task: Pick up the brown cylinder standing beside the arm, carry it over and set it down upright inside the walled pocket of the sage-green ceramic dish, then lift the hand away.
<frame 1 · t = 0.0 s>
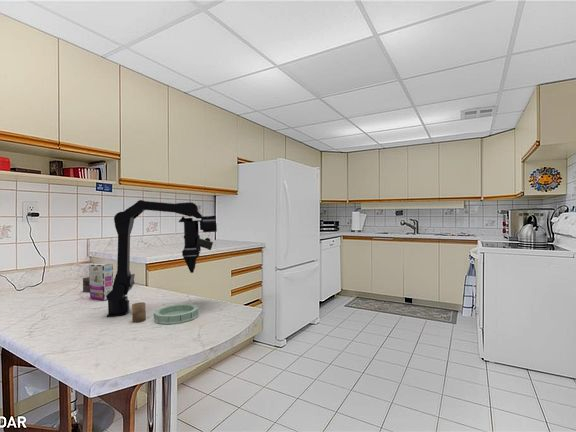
hand: (192, 270, 131), 15 cm above the worktop, fingers open, 9 cm apart
dish: (176, 317, 117), on the worktop
candy bar box: (101, 299, 150), on the worktop
box: (92, 291, 168), on the worktop
brown cylinder: (139, 320, 115), on the worktop
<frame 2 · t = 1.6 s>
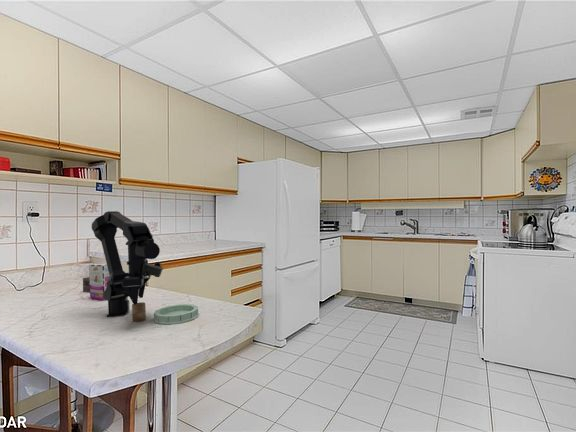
hand: (138, 300, 115), 7 cm above the worktop, fingers open, 9 cm apart
nothing on the worktop moved.
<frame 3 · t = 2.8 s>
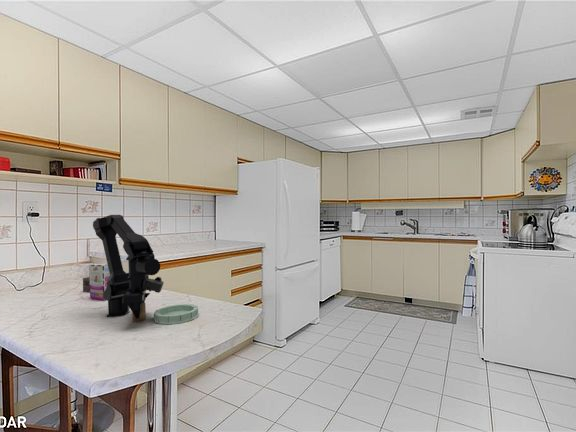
hand: (139, 316, 115), 2 cm above the worktop, fingers closed on brown cylinder, 4 cm apart
brown cylinder: (139, 320, 115), on the worktop, touching gripper
everything else where it was.
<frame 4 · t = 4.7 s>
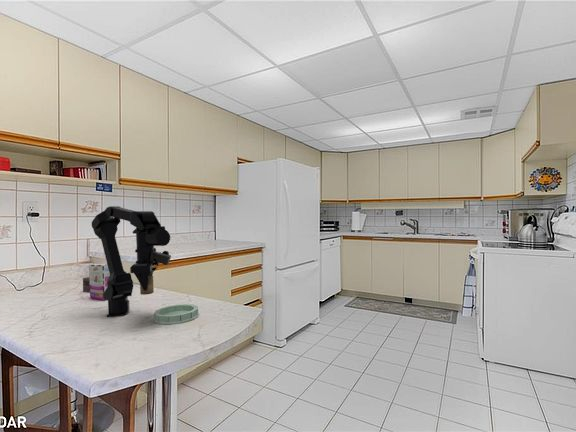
hand: (147, 288, 115), 11 cm above the worktop, fingers closed on brown cylinder, 4 cm apart
brown cylinder: (147, 293, 115), point 10 cm above the worktop, touching gripper
everything else where it was.
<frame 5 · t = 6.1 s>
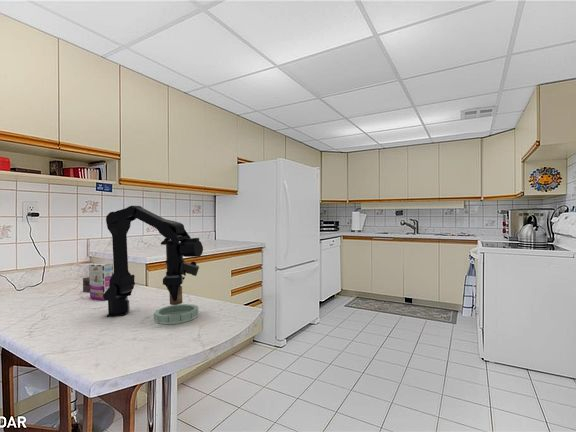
hand: (176, 299, 117), 7 cm above the worktop, fingers closed on brown cylinder, 4 cm apart
brown cylinder: (176, 303, 117), point 5 cm above the worktop, touching gripper
everything else where it was.
when the fingers open (3 cm above the worktop, at t = 7.0 s): brown cylinder drops 1 cm, resting on dish.
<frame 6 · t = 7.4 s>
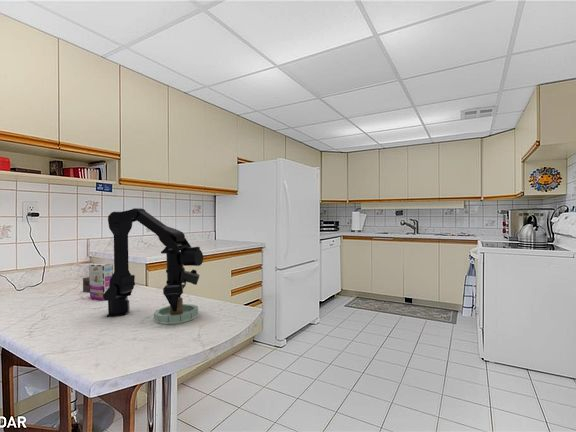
hand: (176, 307, 117), 3 cm above the worktop, fingers open, 9 cm apart
brown cylinder: (176, 315, 117), point 1 cm above the worktop, touching dish
everything else where it was.
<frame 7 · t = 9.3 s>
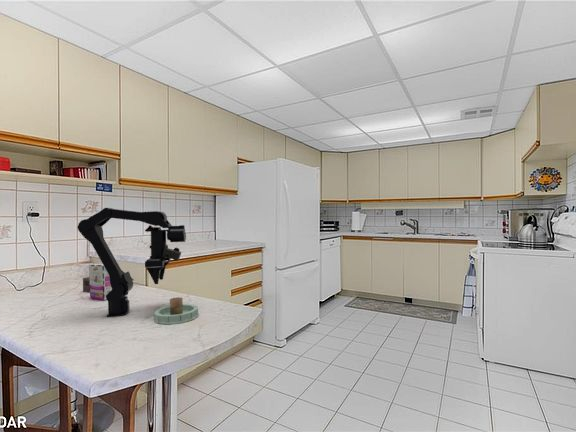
hand: (159, 281, 127), 11 cm above the worktop, fingers open, 9 cm apart
nothing on the worktop moved.
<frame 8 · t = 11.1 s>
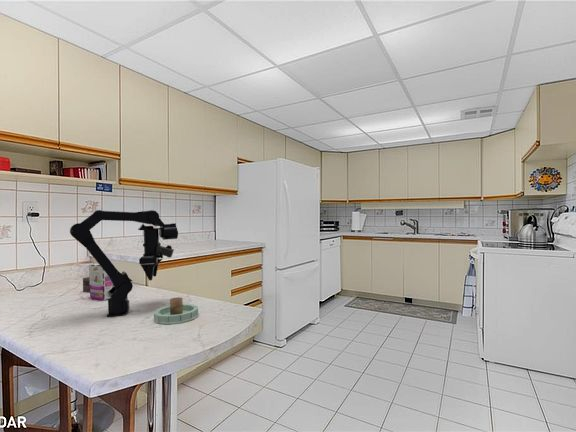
hand: (152, 278, 132), 12 cm above the worktop, fingers open, 9 cm apart
nothing on the worktop moved.
at the end: brown cylinder 0.0 cm off-centre on the dish, point 0.8 cm above the dish's base; brown cylinder tilted 0°; the gripper is holding nothing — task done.
